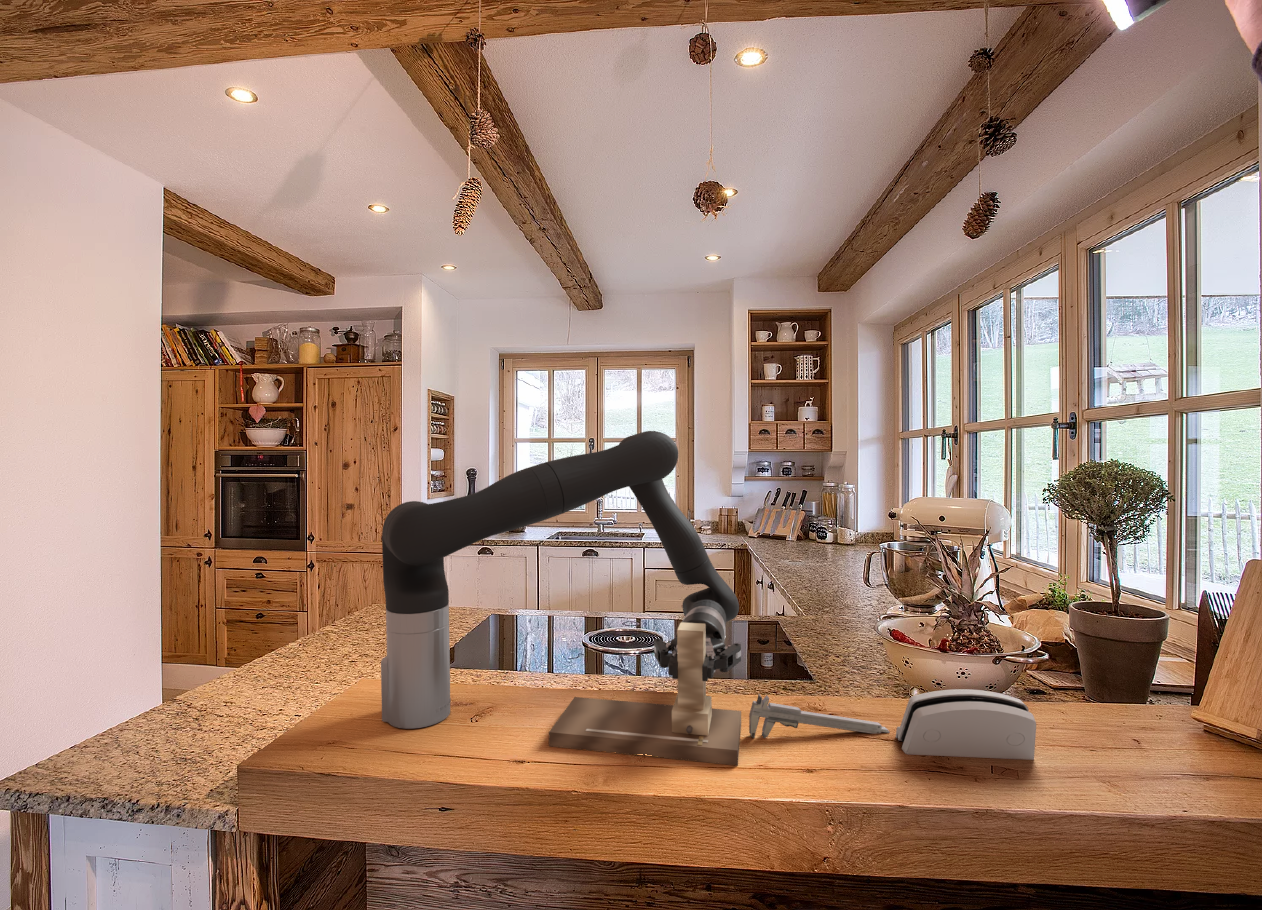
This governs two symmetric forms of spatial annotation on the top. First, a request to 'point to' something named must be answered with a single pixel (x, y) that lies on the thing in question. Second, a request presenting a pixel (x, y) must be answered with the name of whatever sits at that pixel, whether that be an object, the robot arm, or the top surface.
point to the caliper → (803, 719)
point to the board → (644, 731)
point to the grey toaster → (968, 725)
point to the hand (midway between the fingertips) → (689, 673)
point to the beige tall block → (691, 682)
